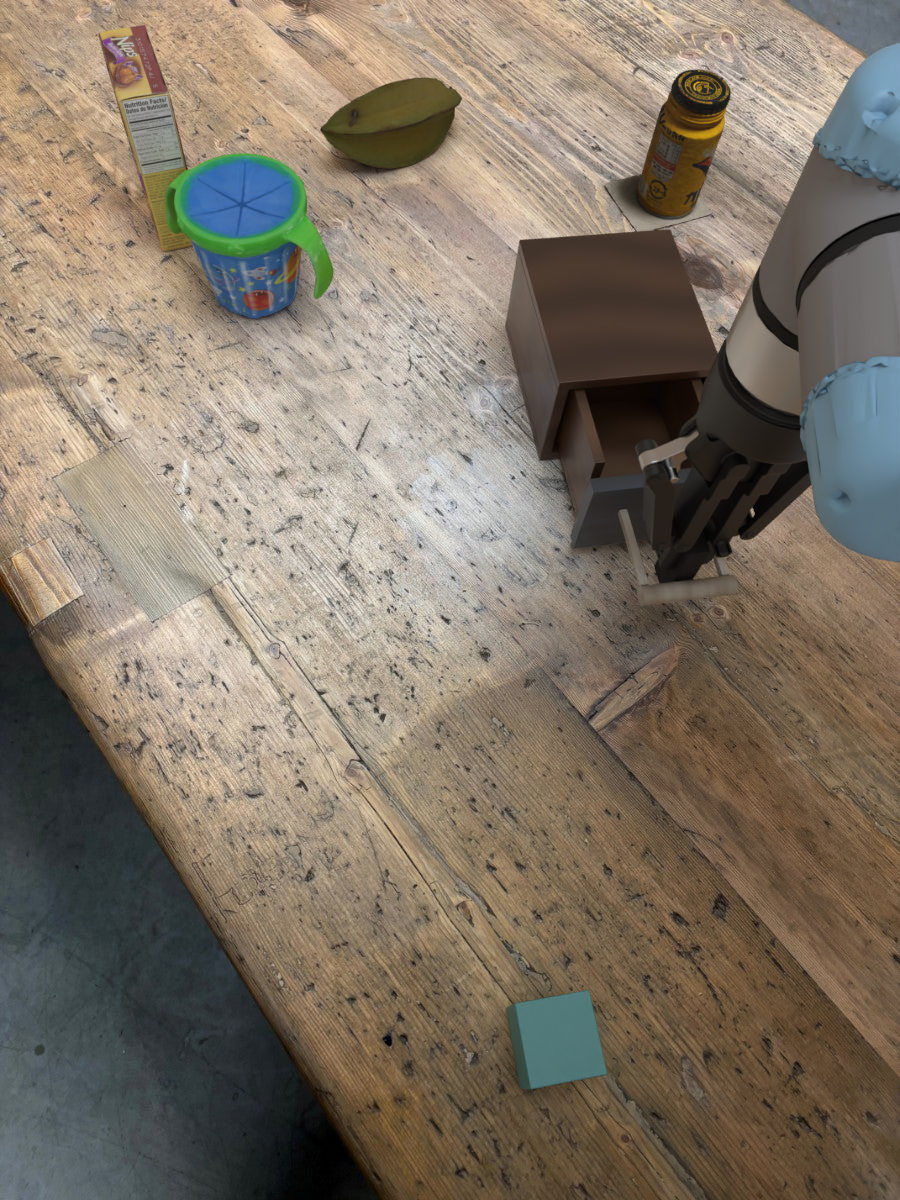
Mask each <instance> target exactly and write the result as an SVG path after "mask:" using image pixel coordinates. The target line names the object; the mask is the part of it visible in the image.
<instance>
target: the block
mask: <svg viewBox="0 0 900 1200" xmlns="http://www.w3.org/2000/svg"><path fill="white" fill-rule="evenodd" d="M505 1012H506V1017H507V1018H506V1019H507V1023H508V1029H509V1034H510V1040H511V1045H512V1046H511V1047H512V1052H513V1057H514V1062H515V1068H516V1071H517V1072H516V1073H517V1079H518V1084H519V1088H520V1089H525V1090H535V1089H540V1088H545V1087H551V1086H555V1085H561V1084H566V1083H570V1082H576V1081H581V1080H587V1079H591V1078H597V1077H602V1076H607V1075H608V1069H607V1065H606V1060H605V1056H604V1055H605V1054H604V1051H603V1047H602V1041H601V1036H600V1032H599V1028H598V1023H597V1019H596V1013H595V1009H594V1005H593V1000H592V996H591V992H590V990H589V989H585V990H581V991H574V992H569V993H563V994H558V995H553V996H547V997H542V998H535V999H531V1000H525V1001H519V1002H515V1003H513V1004H512V1005H509V1006H507V1007H506V1008H505Z"/></svg>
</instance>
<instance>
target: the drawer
mask: <svg viewBox="0 0 900 1200" xmlns="http://www.w3.org/2000/svg"><path fill="white" fill-rule="evenodd" d="M702 388H703V384H702V381H701V379H700V377H698V378H688V379H677V380H666V381H655V382H645V383H634V384H623V385H612V386H602V387H591V388H580V389H570V390H568V394H567V398H566V401H565V405H564V409H563V412H562V416H561V420H560V423H559V427H558V431H557V434H556V442H557V446H558V450H559V453H560V457H561V459H560V460H561V465H562V468H563V472H564V475H565V480H566V483H567V486H568V490H569V494H570V498H571V501H572V505H573V509H574V513H575V516H576V518H575V521H574V523H573V526H572V529H571V532H570V535H569V537H570V542H571V546H572V549H574V550H575V549H584V548H591V547H598V546H599V547H600V546H609V545H617V544H626V546H627V551H628V553H629V557H630V561H631V564H632V567H633V570H634V574H635V579H636V581H637V584H638V587H637V590H636V597H637V601H638V604H639V605H640V606H641V607H642V606H643V607H644V606H652V605H661V604H665V603H666V604H667V603H675V602H683V601H684V602H685V601H691V600H699V599H708V598H714V597H715V598H716V597H723V596H731V595H736V594H737V593H738V591H739V580H738V578H737V576H736V575H735V574H731V573H730V571H729V568H728V565H727V562H726V559H725V557H722V558H717V557H716V556H714V557H713V559H712V560H713V563H714V566H715V569H716V572H717V576H710V577H709V576H708V577H702V578H701V577H700V578H694V579H692V580H684V581H676V582H668V583H660V584H659V583H653V584H650V582H649V578H648V576H647V572H646V569H645V565H644V561H643V558H642V555H641V551H640V548H639V545H638V542H643V541H650V540H649V537H648V534H647V531H646V527H645V524H644V521H643V494H644V475H643V472H642V468H641V465H640V462H639V459H638V456H637V452H636V449H635V446H636V445H637V444H638V443H639V442H640V441H642V440H645V439H652V440H654V441H655V442H656V444H657V445H658V446H662V445H664V444H666V443H668V442H671V441H673V440H675V439H677V438H680V437H679V434H680V430H681V428H682V426H683V425H684V424H685V423H686V422H687V421H688V420H690V419H691V418H692V417H693V416H694V415H695V414H696V413H697V411H698V407H699V402H700V397H701V392H702ZM692 467H693V465H692V463H691V462H690V461H689V459H686V460H684V461H683V462H682V463H681V469H680V471H679V472H677V473H678V476H679V480H678V481H677V482H676V483H673V486H674V489H675V499H674V502H675V500H676V498H677V496H678V494H679V492H680V490H681V488H682V486H683V484H684V482H685V480H686V478H687V477H688V475H689V473H690V471H691V469H692Z"/></svg>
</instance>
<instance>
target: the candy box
mask: <svg viewBox="0 0 900 1200" xmlns="http://www.w3.org/2000/svg"><path fill="white" fill-rule="evenodd" d="M147 28H148V27H147V26H146V25H145V24H143V25H134V26H128V27H126V26H125V27H122V28H121V27H120V28H115V29H109V30H103V31H100V32H98V33H97V35H98V40H99V44H100V47H101V51H102V54H103V59H104V63H105V65H106V69H107V73H108V77H109V80H110V83H111V86H112V91H113V94H114V98H115V101H116V104H117V108H118V111H119V115H120V118H121V121H122V125H123V128H124V132H125V136H126V138H127V142H128V145H129V150H130V152H131V156H132V159H133V162H134V165H135V169H136V172H137V175H138V178H139V182H140V185H141V189H142V191H143V195H144V197H145V201H146V203H147V207H148V211H149V213H150V217H151V220H152V223H153V226H154V228H155V232H156V235H157V238H158V241H159V245H160V248H161V251H162V252H171V251H174V250H175V251H176V250H180V249H185V248H190V247H193V246H192V242H191V240H190V238H189V237H187V236H186V235H185V234H184V233H183V232H180V233H178V234H175V233H173V232H172V231H171V230H170V229H169V227H168V225H167V220H166V214H165V192H166V189H167V187H168V186H169V185H170V184H171V182H172V181H173V180H174V179H175V178H177V177H178V176H179V175H180V174H182V173H183V172H184V171H185V170H189V169H188V165H187V161H186V156H185V152H184V147H183V143H182V139H181V135H180V131H179V127H178V122H177V118H176V114H175V113H176V112H175V110H174V106H173V102H172V97H171V92H170V90H169V87H168V85H167V82H166V79H165V77H164V74H163V72H162V68H161V66H160V63H159V60H158V58H157V55H156V52H155V50H154V46H153V44H152V42H151V41H152V40H151V38H150V35H149V32H148V29H147Z"/></svg>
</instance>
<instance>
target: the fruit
mask: <svg viewBox="0 0 900 1200" xmlns="http://www.w3.org/2000/svg"><path fill="white" fill-rule="evenodd" d="M462 100H463V97H462V96H461V94H460V93H459V92H458V91H457V90H456V89H455V88H453V86H452V85H451V86H449V87H447V86H446V84H445V83H444V81H442V80H440V79H438V78H435V77H412V78H411V77H410V78H405V79H401V80H396V81H391V82H388V83H386V84H382V85H380V86H378V87H376V88H374V89H372V90H370V91H368V92H366V93H364V94H362V95H360V96H357V97H355V98H354V99H352V100H351V101H349V102H348V103H346V104H344V105H343V106H342V107H340V108H339V109H338V110H336V111H335V112H334V113H333V114H332V115H331V116H330V117H329V119H328V120H327V121H326V123H325V124H323V125H322V126H321V127H320V129H319V131H320V133H321V134H322V135H323V137H324V138H325V139H326V142H328V143H329V144H330V145H331V146H332V147H333V148H334V149H335V150H337V151H338V152H340V153H341V154H343V155H344V156H346V157H348V158H349V159H352V160H353V161H355V162H357V163H360V164H363V165H365V166H368V167H372V168H377V169H387V170H388V169H399V168H405V167H409V166H412V165H415V164H417V163H419V162H421V161H423V160H425V159H426V158H428V157H430V156H431V155H432V154H433V153H434V152H435V151H436V150H437V149H438V148H439V147H440V146H441V144H442V143H443V142H444V141H445V139H446V137H447V135H448V134H449V131H450V129H451V127H452V125H453V122H454V119H455V115H456V108H457V107H458V106H459V105H461V103H462Z"/></svg>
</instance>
